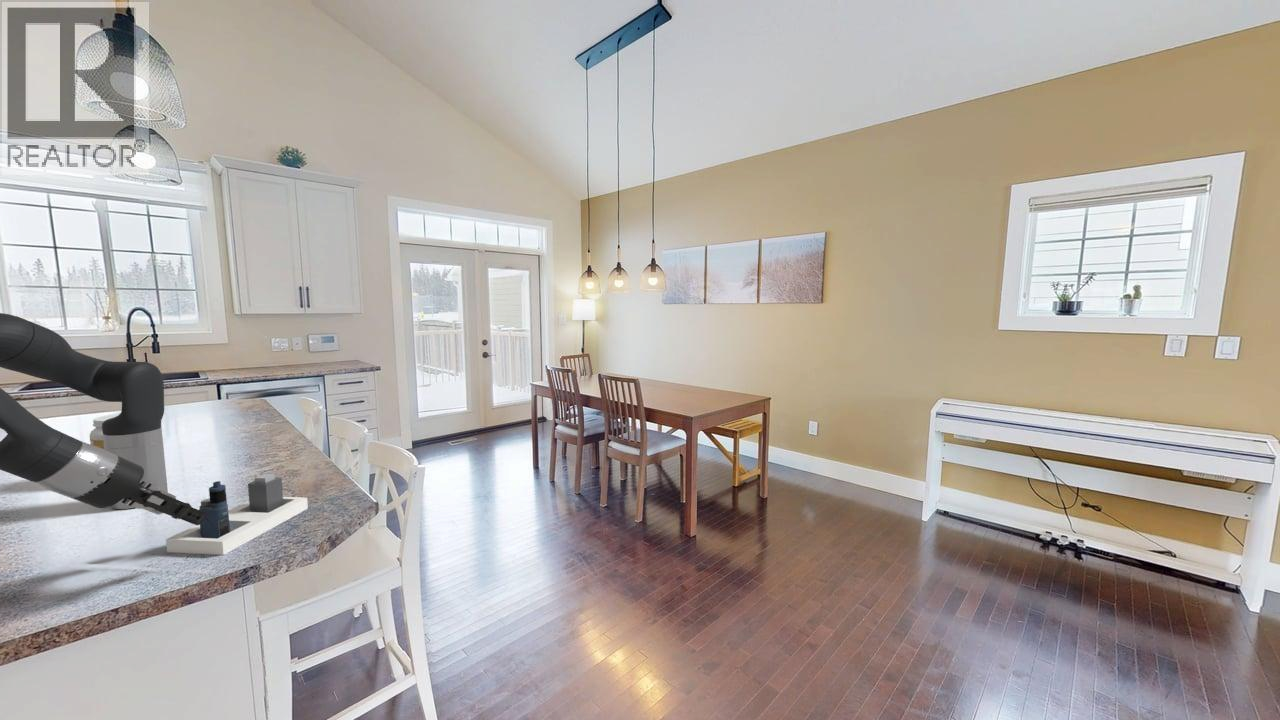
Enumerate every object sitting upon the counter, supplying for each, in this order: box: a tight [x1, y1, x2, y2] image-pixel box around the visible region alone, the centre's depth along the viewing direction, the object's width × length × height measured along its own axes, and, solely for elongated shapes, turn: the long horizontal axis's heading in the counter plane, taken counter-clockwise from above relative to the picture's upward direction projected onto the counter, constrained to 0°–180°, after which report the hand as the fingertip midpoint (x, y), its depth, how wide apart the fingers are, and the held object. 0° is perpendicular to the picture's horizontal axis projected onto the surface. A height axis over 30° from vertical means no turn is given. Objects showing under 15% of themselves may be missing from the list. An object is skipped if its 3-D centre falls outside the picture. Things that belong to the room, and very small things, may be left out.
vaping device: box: [198, 480, 230, 539], centre depth 88 cm, size 3×5×12 cm, turn 78°
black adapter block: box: [247, 473, 284, 513], centre depth 100 cm, size 4×4×9 cm
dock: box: [165, 496, 309, 556], centre depth 95 cm, size 20×11×4 cm, turn 177°
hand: (190, 515), depth 85 cm, fingers open, 8 cm apart
